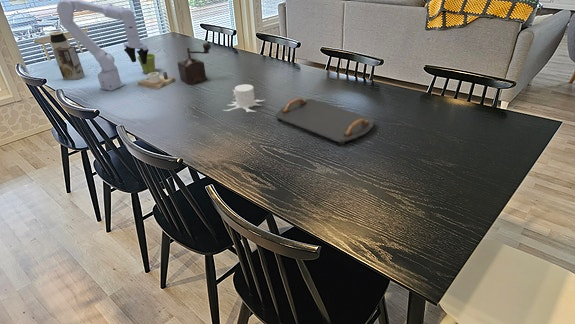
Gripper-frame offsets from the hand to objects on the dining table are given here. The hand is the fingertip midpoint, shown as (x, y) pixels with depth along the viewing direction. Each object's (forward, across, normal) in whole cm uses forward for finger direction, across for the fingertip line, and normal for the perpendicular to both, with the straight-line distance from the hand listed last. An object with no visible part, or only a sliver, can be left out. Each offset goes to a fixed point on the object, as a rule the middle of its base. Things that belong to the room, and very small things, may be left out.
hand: (139, 62), depth 192 cm
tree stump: (+11, -64, +1) cm, 65 cm away
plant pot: (+10, +10, -13) cm, 19 cm away
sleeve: (+8, -11, +2) cm, 14 cm away
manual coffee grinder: (+10, -23, -15) cm, 30 cm away
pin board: (+10, -8, -2) cm, 13 cm away
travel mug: (+10, +69, -2) cm, 70 cm away
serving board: (+11, -104, +2) cm, 104 cm away
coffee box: (+10, +41, +12) cm, 44 cm away
